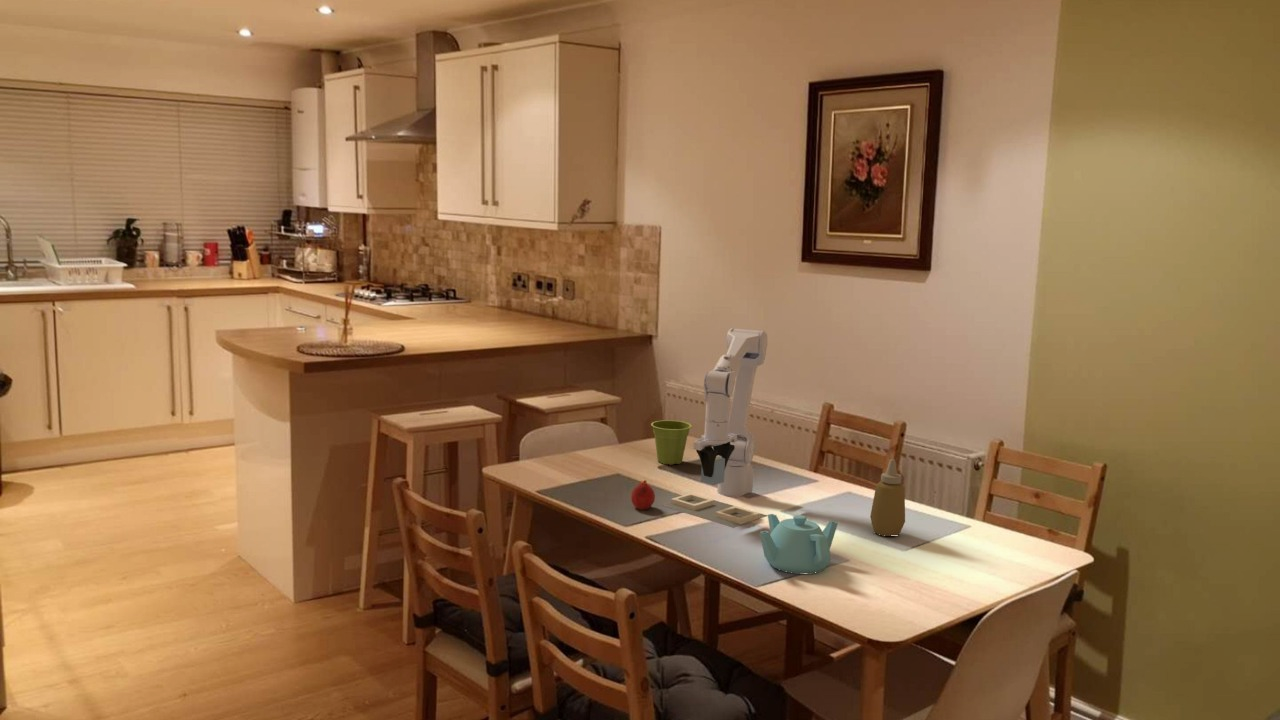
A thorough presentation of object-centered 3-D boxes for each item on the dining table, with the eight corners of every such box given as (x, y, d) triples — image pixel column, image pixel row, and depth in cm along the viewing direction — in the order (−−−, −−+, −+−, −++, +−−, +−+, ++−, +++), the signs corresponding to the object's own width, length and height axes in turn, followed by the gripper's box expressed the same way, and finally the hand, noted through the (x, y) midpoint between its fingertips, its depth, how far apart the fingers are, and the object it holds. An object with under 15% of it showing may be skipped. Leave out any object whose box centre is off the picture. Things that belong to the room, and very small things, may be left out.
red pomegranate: (651, 516, 245) (653, 484, 244) (628, 513, 246) (629, 482, 245) (656, 509, 250) (657, 478, 249) (633, 507, 252) (634, 475, 250)
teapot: (753, 571, 211) (756, 521, 210) (766, 548, 226) (769, 502, 224) (827, 582, 207) (831, 531, 205) (835, 558, 221) (839, 511, 220)
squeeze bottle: (905, 531, 242) (911, 458, 239) (902, 541, 235) (909, 466, 232) (871, 526, 245) (877, 454, 242) (867, 536, 237) (873, 461, 234)
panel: (697, 499, 261) (697, 490, 261) (767, 519, 246) (768, 510, 246) (661, 509, 251) (662, 500, 250) (733, 531, 236) (733, 522, 236)
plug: (711, 478, 251) (712, 452, 250) (723, 482, 248) (725, 456, 247) (700, 481, 248) (702, 455, 247) (713, 485, 245) (714, 458, 244)
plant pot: (647, 456, 302) (648, 419, 300) (686, 457, 303) (688, 420, 302) (651, 467, 290) (653, 428, 289) (692, 467, 292) (694, 429, 290)
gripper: (722, 413, 253) (719, 466, 255) (684, 420, 243) (682, 475, 245) (745, 418, 249) (741, 472, 251) (707, 426, 238) (704, 482, 240)
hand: (713, 474), depth 247 cm, fingers closed on plug, 4 cm apart
